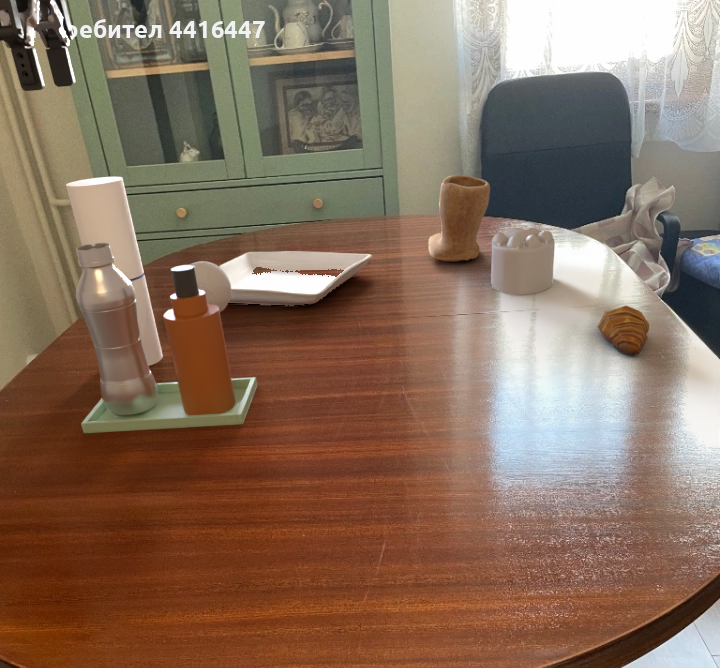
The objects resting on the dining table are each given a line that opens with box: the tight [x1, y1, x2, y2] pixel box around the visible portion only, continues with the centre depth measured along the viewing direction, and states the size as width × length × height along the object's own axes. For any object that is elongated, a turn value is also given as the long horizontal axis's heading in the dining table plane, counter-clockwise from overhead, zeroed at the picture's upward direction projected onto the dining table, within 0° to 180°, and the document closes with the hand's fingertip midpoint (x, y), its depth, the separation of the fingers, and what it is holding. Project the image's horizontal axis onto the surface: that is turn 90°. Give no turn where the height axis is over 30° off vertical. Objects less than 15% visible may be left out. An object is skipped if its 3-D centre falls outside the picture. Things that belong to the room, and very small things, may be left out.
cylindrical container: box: [65, 176, 164, 367], centre depth 100 cm, size 7×7×25 cm
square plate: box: [219, 250, 373, 307], centre depth 134 cm, size 27×27×4 cm
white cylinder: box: [189, 260, 231, 313], centre depth 98 cm, size 7×7×15 cm
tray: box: [80, 376, 258, 434], centre depth 90 cm, size 19×11×2 cm, turn 88°
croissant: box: [597, 305, 650, 356], centre depth 98 cm, size 14×7×5 cm, turn 174°
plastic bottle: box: [75, 243, 157, 415], centre depth 86 cm, size 6×7×20 cm
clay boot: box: [427, 174, 491, 262], centre depth 142 cm, size 15×12×15 cm
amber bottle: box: [162, 264, 236, 415], centre depth 86 cm, size 6×6×17 cm
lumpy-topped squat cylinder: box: [490, 227, 556, 296], centre depth 124 cm, size 10×13×9 cm
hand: (50, 88), depth 79 cm, fingers open, 8 cm apart
